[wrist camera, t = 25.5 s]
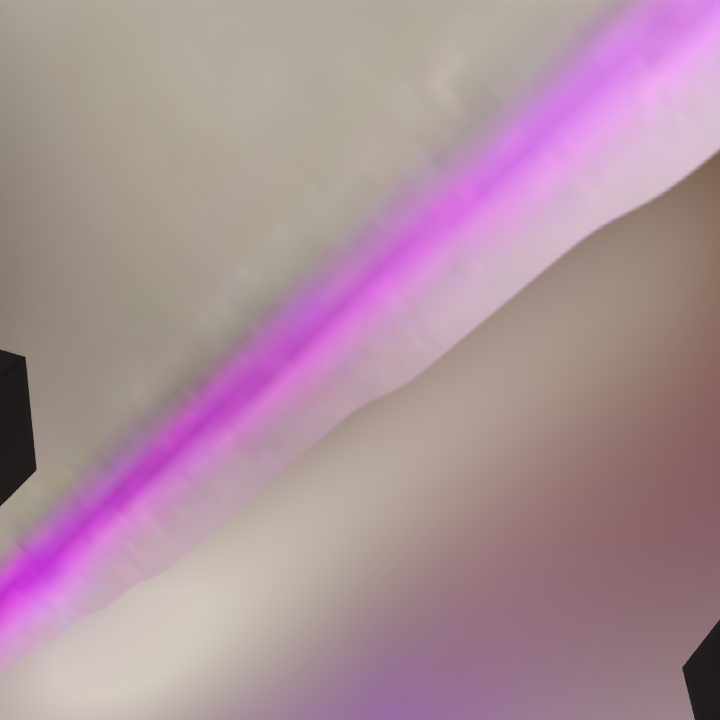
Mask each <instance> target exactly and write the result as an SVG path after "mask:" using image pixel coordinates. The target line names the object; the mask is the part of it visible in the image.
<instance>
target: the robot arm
mask: <svg viewBox="0 0 720 720" xmlns="http://www.w3.org/2000/svg"><path fill="white" fill-rule="evenodd" d="M36 470H37V469H36V459H35V449H34V439H33V429H32V419H31V409H30V399H29V389H28V378H27V368H26V358H25V357H24V356H20V355H17V354H13V353H10V352H6V351H3V350H0V506H1V505H2V504H3V503H4V502H5V501H6V500H7V499H8V498H9V497H10V496H11V495H12V494H13V493H14V492H15V491H16V490H17V489H18V488H19V487H20V486H21V485H22V484H23V483H24V482H25V481H26V480H27V479H28V478H29V477H30V476H31V475H32V474H33V473H34V472H35V471H36ZM682 669H683V672H684V677H685V681H686V685H687V689H688V693H689V697H690V701H691V705H692V709H693V713H694V717H695V720H720V620H719V621H718V622H717V624H716V625H715V626H714V628H713V629H712V630H711V631H710V633H709V634H708V635H707V637H706V638H705V639H704V640H703V642H702V643H701V644H700V646H699V647H698V648H697V650H696V651H695V652H694V653H693V655H692V656H691V657H690V658H689V660H688V661H687V662H686V664H685V665H684V666H683V668H682Z"/></svg>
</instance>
